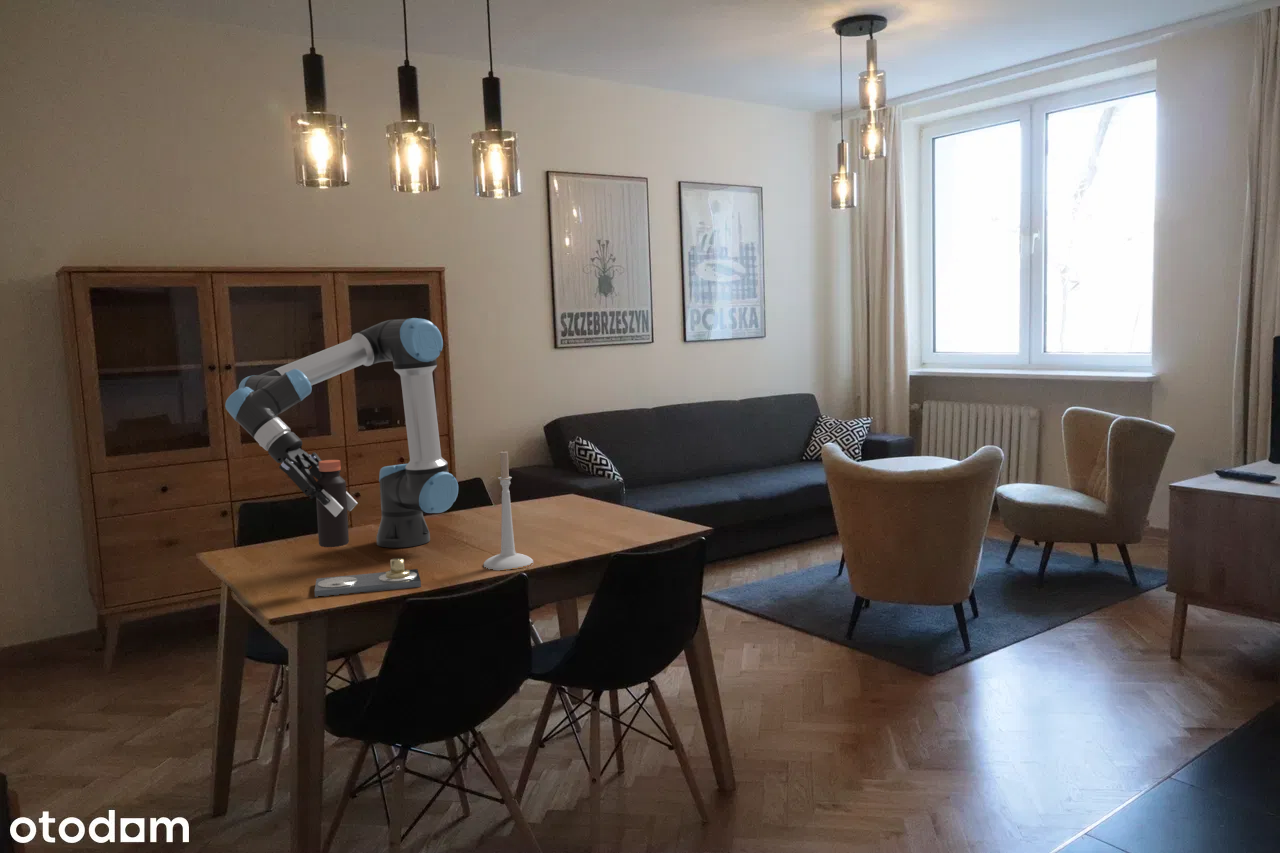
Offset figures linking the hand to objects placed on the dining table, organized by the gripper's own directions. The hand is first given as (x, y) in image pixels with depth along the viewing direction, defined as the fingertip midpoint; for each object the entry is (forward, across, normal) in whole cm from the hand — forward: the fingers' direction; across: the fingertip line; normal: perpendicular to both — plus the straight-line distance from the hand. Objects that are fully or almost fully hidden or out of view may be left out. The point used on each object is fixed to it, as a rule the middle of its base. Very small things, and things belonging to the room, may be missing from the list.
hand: (346, 509), depth 219 cm
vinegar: (+4, 0, -9) cm, 9 cm away
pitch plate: (+16, -3, -12) cm, 20 cm away
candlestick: (+35, -27, +8) cm, 45 cm away
